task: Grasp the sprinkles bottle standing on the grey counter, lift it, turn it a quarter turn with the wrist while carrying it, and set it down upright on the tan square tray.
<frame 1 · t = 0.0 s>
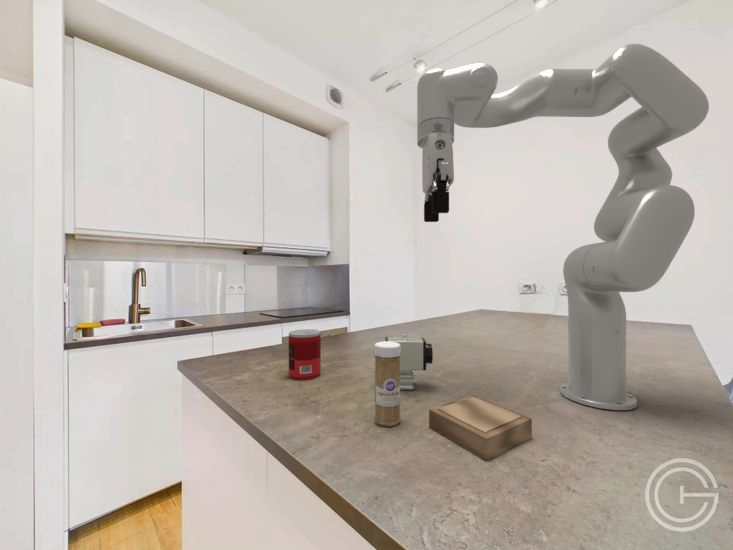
hand: (435, 217, 64), 37 cm above the countertop, tool pointing down, fingers open, 9 cm apart
pneumatic valve: (404, 388, 69), on the countertop
canned food: (304, 376, 78), on the countertop
sprinkles bottle: (387, 422, 53), on the countertop
tan square tray: (478, 432, 49), on the countertop
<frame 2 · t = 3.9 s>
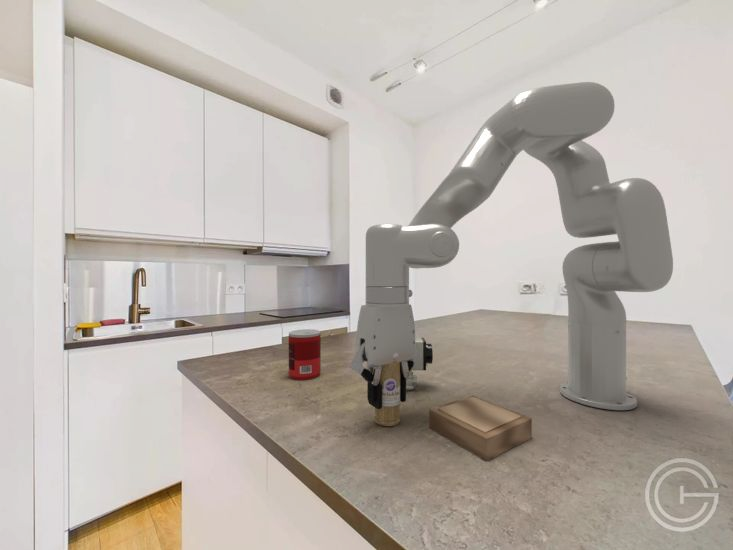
hand: (387, 401, 53), 3 cm above the countertop, tool pointing down, fingers closed on sprinkles bottle, 4 cm apart
sprinkles bottle: (387, 422, 53), on the countertop, touching gripper
everything else where it was.
when the fingers open (7 cm above the countertop, at t = 9.3 s): sprinkles bottle stays where it is, resting on tan square tray.
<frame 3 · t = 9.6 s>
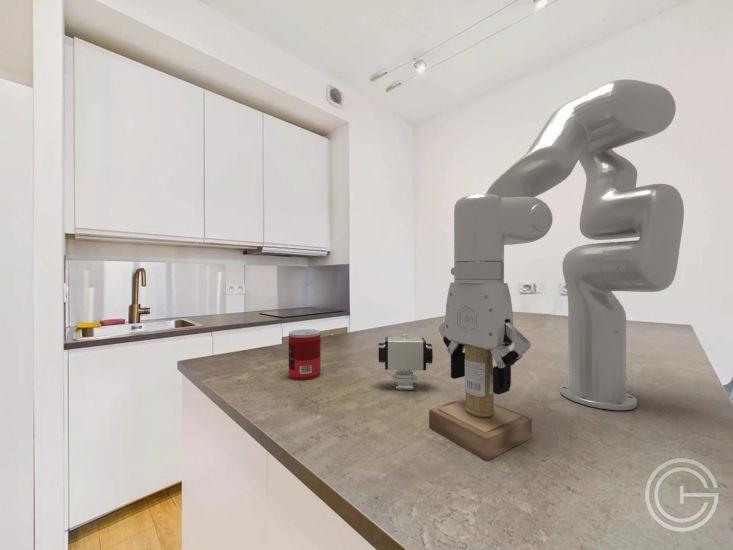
hand: (478, 383, 49), 8 cm above the countertop, tool pointing down, fingers open, 7 cm apart
sprinkles bottle: (479, 413, 49), point 3 cm above the countertop, touching tan square tray
everything else where it was.
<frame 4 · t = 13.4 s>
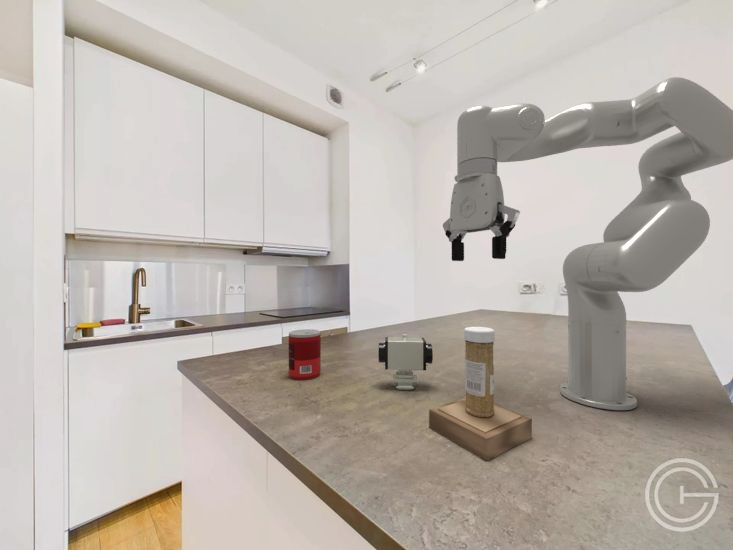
hand: (477, 259, 62), 28 cm above the countertop, tool pointing down, fingers open, 9 cm apart
nothing on the countertop moved.
at the end: sprinkles bottle inside the target area on the tan square tray (0.2 cm from its centre), point 3.0 cm above the tan square tray's base; sprinkles bottle tilted 0°; the gripper is holding nothing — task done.
